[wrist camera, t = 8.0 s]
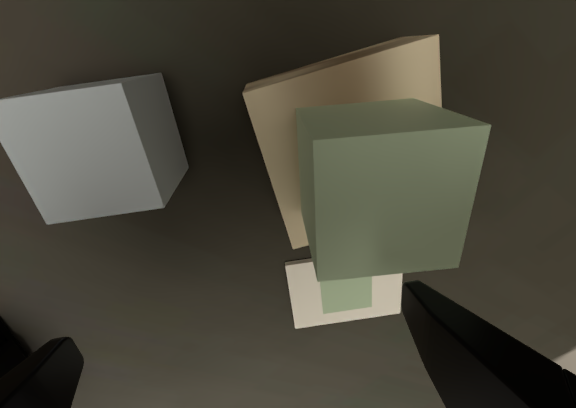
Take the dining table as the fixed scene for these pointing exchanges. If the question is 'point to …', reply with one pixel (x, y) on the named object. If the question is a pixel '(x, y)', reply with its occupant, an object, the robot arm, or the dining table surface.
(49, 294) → the dining table surface
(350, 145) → the sage cube
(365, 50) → the birch block
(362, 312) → the card
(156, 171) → the blue-grey cube
